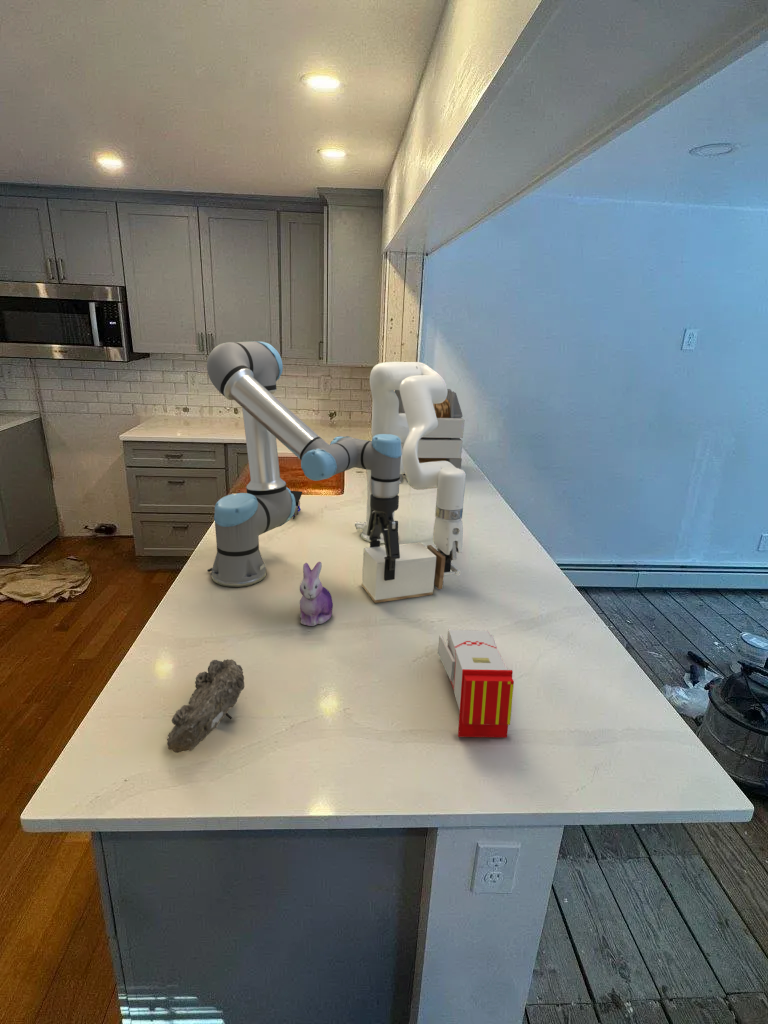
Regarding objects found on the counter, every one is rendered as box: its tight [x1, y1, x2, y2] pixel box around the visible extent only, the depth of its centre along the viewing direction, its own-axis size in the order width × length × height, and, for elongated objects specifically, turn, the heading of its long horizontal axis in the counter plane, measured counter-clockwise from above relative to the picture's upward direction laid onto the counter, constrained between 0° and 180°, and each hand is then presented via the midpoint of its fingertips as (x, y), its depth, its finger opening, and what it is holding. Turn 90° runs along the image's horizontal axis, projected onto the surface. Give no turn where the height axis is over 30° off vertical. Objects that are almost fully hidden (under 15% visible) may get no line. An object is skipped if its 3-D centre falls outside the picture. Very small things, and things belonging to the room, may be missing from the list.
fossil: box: [166, 658, 245, 754], centre depth 106 cm, size 22×10×15 cm
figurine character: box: [290, 490, 303, 520], centre depth 212 cm, size 7×8×15 cm
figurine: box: [299, 561, 334, 627], centre depth 141 cm, size 9×10×15 cm
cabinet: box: [361, 541, 436, 604], centre depth 158 cm, size 17×10×12 cm, turn 112°
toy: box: [437, 628, 515, 738], centre depth 117 cm, size 12×13×30 cm
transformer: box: [394, 388, 465, 483], centre depth 268 cm, size 34×33×41 cm
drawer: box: [426, 544, 462, 590], centre depth 160 cm, size 22×9×10 cm, turn 112°
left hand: (381, 570), depth 156 cm, fingers closed on cabinet, 10 cm apart
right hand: (443, 571), depth 164 cm, fingers closed
